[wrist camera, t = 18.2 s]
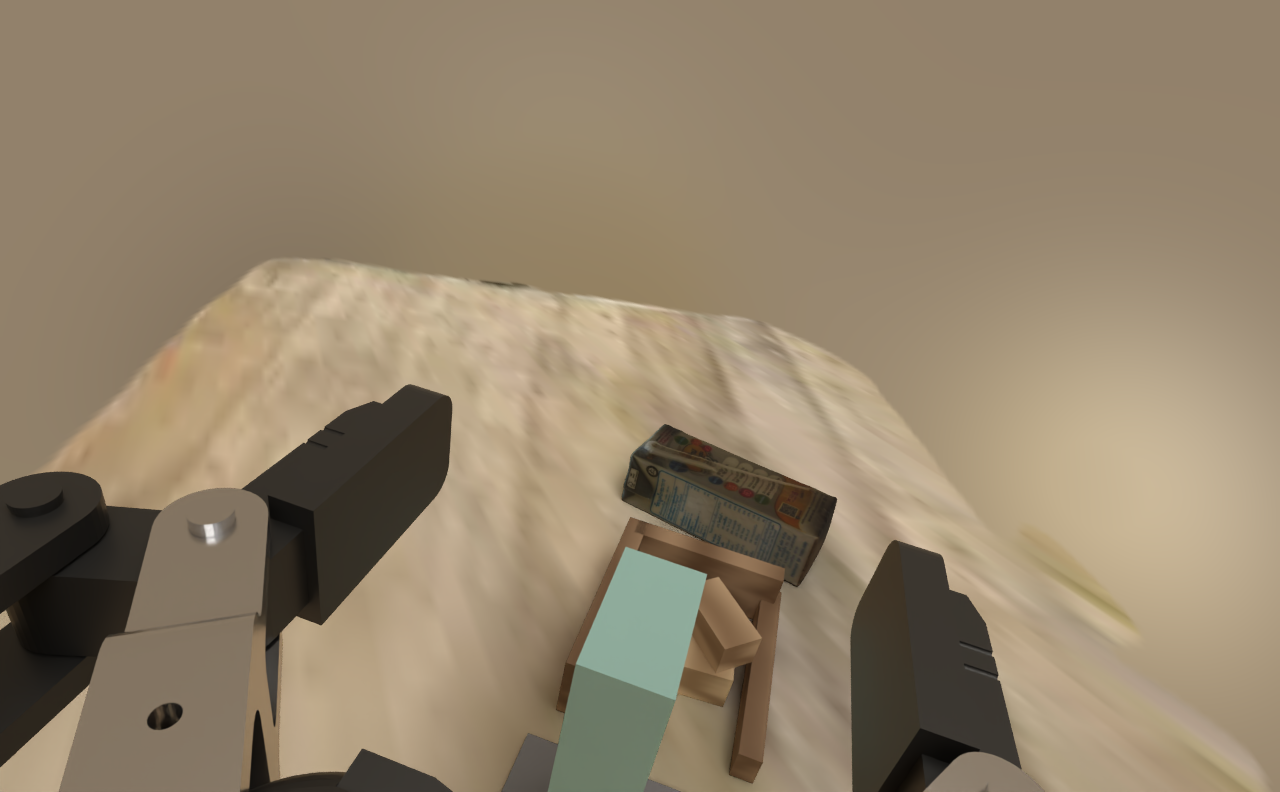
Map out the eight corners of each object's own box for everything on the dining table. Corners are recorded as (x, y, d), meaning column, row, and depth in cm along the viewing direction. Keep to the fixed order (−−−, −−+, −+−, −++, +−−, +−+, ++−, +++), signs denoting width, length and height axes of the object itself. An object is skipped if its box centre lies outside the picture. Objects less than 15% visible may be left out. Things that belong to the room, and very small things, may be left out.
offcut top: (710, 600, 54) (718, 576, 52) (752, 661, 49) (762, 638, 48) (676, 609, 52) (683, 585, 51) (715, 673, 48) (724, 649, 47)
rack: (773, 611, 58) (790, 570, 55) (752, 783, 45) (774, 738, 42) (619, 559, 60) (630, 517, 57) (556, 709, 46) (565, 662, 44)
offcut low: (728, 634, 55) (738, 607, 54) (721, 708, 49) (733, 680, 48) (685, 621, 56) (694, 594, 54) (674, 694, 50) (683, 666, 48)
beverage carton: (653, 464, 73) (666, 414, 70) (821, 545, 67) (844, 493, 64) (617, 501, 67) (630, 448, 64) (800, 594, 61) (825, 540, 58)
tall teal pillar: (628, 806, 41) (707, 574, 31) (593, 936, 35) (675, 700, 25) (568, 782, 42) (625, 546, 32) (522, 906, 36) (575, 663, 26)
